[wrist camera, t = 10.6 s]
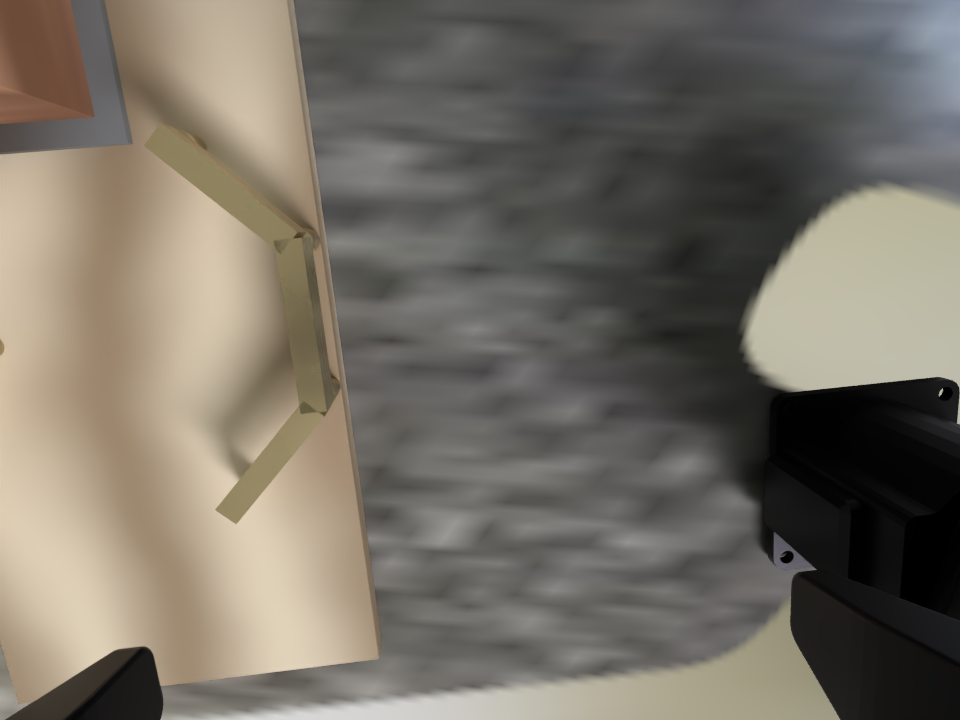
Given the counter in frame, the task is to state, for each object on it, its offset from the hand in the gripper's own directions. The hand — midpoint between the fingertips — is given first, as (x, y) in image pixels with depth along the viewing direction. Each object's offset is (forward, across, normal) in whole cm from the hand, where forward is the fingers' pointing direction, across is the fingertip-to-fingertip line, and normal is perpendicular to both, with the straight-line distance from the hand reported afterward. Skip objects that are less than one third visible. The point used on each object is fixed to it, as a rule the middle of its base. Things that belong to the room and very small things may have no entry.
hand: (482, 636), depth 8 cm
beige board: (+12, +10, -3) cm, 16 cm away
